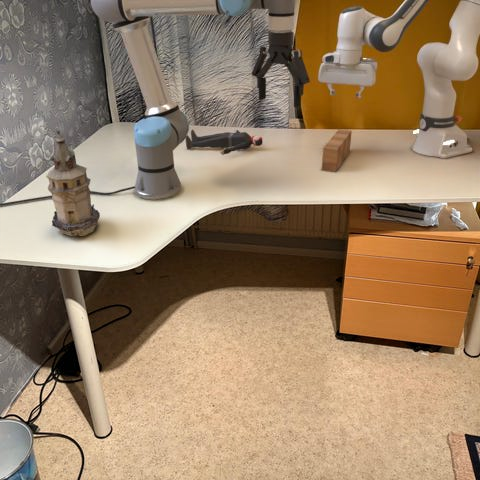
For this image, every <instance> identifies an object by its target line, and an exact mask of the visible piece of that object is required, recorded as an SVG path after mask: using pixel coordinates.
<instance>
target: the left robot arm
mask: <svg viewBox="0 0 480 480" xmlns="http://www.w3.org/2000/svg"><path fill="white" fill-rule="evenodd" d="M295 3H296V0H90V6H91V8H92V11H93V12H94V14H95V15H96V16H97V18H99V19H100V20H102V21H104V22H107V23H111V24H112V26H113V30H114V31H115V32H117V33H119V34H120V35H121V38H122V42H123V44H124V47H125V50H126V52H127V56H128V59H129V61H130V64H131V66H132V69H133V72H134V75H135V78H136V81H137V83H138V86H139V88H140V93H141V94H142V97H143V100H144V103H145V106H146V109H145V112H144V117H145V118H142V119H139V120H138V121H137V123H135V125H134V127H133V139H134V144H135V154H136V161H137V175H136V179H135V184H134V186H130V187H126V188H122V189H121V188H120V189H118V190H115V191H111V192H101V191H95V190H94V191H93V190H90V191H91V192H90V194H94V195H102V196H110V195H115V194H119V193H122V192H126V191H130V190H134V193H135V195H136V196H137V197H138V198H141V199H143V200H148V201H161V200H168V199H171V198H174V197H176V196H178V195H179V194H180V193H181V192H182V182H181V180H180V177H179V176H178V173H177V171H176V169H175V161H174V160H175V159H174V158H175V157H174V151H175V149H177V147H179V145H181V144H182V143H184V141H185V140H186V136H187V135H188V134H189V131H190V121H189V118H188V117H187V115H186V114H185V113H184V112H183V111H181V109H180V106H179V104H178V102H176V101H175V100H173V99H172V96H171V93H170V91H169V88H168V84H167V82H166V78H165V75H164V73H163V70H162V67H161V64H160V61H159V58H158V55H157V51H156V49H155V45H154V43H153V40H152V37H151V34H150V31H149V28H148V24H149V21H150V19H151V18H150V17H170V16H172V17H173V16H209V15H210V16H212V15H216V16H217V15H222V16H223V15H228V16H230V17H240V16H242V15H244V14H245V13H246V12H248V11H250V10H268V17H267V18H268V20H267V23H268V24H267V29H268V33H267V44H268V45H267V44H266V45H261V46H260V47H259V54H258V57H257V59H256V61H255V64H254V66H253V69H252V72H251V76H253V77H255V78H256V87H257V89H258V101H262V100H265V99H266V97H267V77H266V74H267V73H268V72H269V70H270V69H271V68H272V66H274V64H278V65H284V66H285V67H286V68H287V70H288V72H289V73H290V75H291V77H292V78H293V81H294V82H295V83H296V84H295V85H294V87H293V88H294V90H293V108H297V107H300V106H302V96H303V95H304V86H305V85H306V84H309V83H310V82H311V80H310V76H309V73H308V71H307V67H306V65H305V62H304V59H303V50H301V49H296V50H293V46H294V37H295V35H294V34H295V33H294V31H293V30H294V29H295V5H296V4H295ZM268 55H269V56H268ZM267 56H268V58H267ZM266 58H267V59H266ZM45 199H46V200H47V199H52V194H51V195H46V196H39V197H38V196H37V197H33V198H25V199H19V200H14V201H9V202H1V203H0V207H3V206H8V205H15V204H20V203H21V204H22V203H27V202H33V201H39V200H40V201H41V200H45Z"/></svg>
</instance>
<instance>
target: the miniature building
mask: <svg viewBox="0 0 480 480" xmlns="http://www.w3.org/2000/svg"><path fill="white" fill-rule="evenodd" d="M56 134H57V136H56V138H55V140H54V141H55V142H56V147H55V154H54V156H52V157H51V161H52V162H53V165H54V167H53V168H51V169H50V170H49V171H48V173H47V174H46V178H47V179H48V182H49V184H48V186H47V190H48V191H49V193H50V194H51V195H52V198H51V200H52V201H53V205H54V209H55V211H53V217H52V220H51V223H52V225H51V227H54V228H56V229H58V230H59V231H60V234H63V235H64V234H65V235H66V236H69V237H77V236H80V237H83V236H87V235H88V234H90V233H93V232H94V231H95V229H96V226H97V225H98V223H99V220H100V216H101V213H100V212H99V210H98V209H96V208H95V204H92V201H91V200H92V199H91V198H92V197H91V193H90V192H91V191H92V190H91V188H90V184H91V178H89V177H88V174H87V167H85V166H84V165H83V166H82V165H80V164H77V160H76V154H75V151H74V150H70V149H69V147H68V145H67V143H66V138H65V137H64V136H63V135H61V130H60V129H56Z"/></svg>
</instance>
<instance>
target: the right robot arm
mask: <svg viewBox="0 0 480 480" xmlns="http://www.w3.org/2000/svg"><path fill="white" fill-rule="evenodd" d="M429 2H430V0H404V1H403V2H402V4H400V6H399V7H398V8H397V10H396V11H394V13H393V14H392V15H391V16H389V17H387V18H384V17H381V16H378V15H376V14H373V13H372V12H369V11H367V9H365V8H364V7H363V6H361V5H355V6H349V7H346V8H344V9H343V10H341V12H340V14H339V18H338V23H337V33H336V35H337V44H336V48H335V50H334V51H331V52H328V53H325V54H324V55H323V56H322V60H321V61H322V63H320V66H319V70H318V75H317V76H318V77H317V80H318V81H319V83H323V84H327V87H328V90H329V96H331V97H332V96H333V97H335V95H336V89H334V88H333V84H334V85H335V84H336V85H350V86H359V89H360V90H359V91H357V92H356V93H355V98H356V99H360V98H361V97H362V92H363V91H364V89H365V88H366V87H372V86H374V85H375V84H376V80H377V70H378V64H379V63H378V61H377V60H375V58H368V57H362V54H363V52H362V51H363V46H365V45H366V46H369V47H370V48H373V49H374V50H376V51H377V52H379V53H388V52H391V51H394V49H395V48H396V47H398V45H399V44H400V42H401V40H402V39H403V36H404V34H405V32H406V30H408V28H409V27H410V25H411V24H412V23H413V22H414V20H415V19H416V18H417V16H418V15H420V13H421V12H422V11H423V9H424V8H425V7H426V5H427V4H428V3H429ZM448 25H449V29H450V31H451V35H450V39H449V42H448V43H445V42H439V41H438V42H437V41H436V42H428V43H426V44H424V45H422V46H421V47H420V49H419V51H418V53H417V57H416V62H417V65H418V67H419V69H420V71H421V74H422V78H423V79H422V80H423V86H424V96H423V105H422V112H421V113H420V117H419V121H418V125H419V128H418V129H416V130H413V134H417V135H416V139H415V140H414V143H413V146H412V147H411V149H412V151H413V152H415V153H417V154H419V155H423V156H428V157H437V158H441V159H448V158H452V157H457V156H460V155H461V156H462V155H464V154H468V153H472V152H473V148H472V147H471V145H469V144H468V141H469V140H470V138H468V135H467V134H466V132H465V131H463V130H462V128H460V127H459V126H458V125H457V124H456V122H457V123H461V121H462V120H463V117H462V116H459V115H455V114H454V113H455V106H456V100H457V92H456V90H455V88H454V86H453V82H455V81H456V82H464V81H468V80H470V79H471V78H472V77H473V76H474V75H475V74H476V73H477V71H478V68H479V58H478V55H477V45H478V40H479V37H480V0H460V1H459V2H458V5H457V6H456V9H455V10H454V12H453V14H452V16H451V18H450V20H449V24H448ZM452 81H453V82H452Z"/></svg>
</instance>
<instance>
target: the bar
mask: <svg viewBox="0 0 480 480" xmlns="http://www.w3.org/2000/svg"><path fill="white" fill-rule="evenodd" d="M352 133H353V132H352V130H350V129H340V128H338V129H337V130H336V132H335V133H334V134H333V136H331V137H330V139H329V140H328V141H327V143H326V144H325V145H324V146H323V148H322V160H321V161H322V162H321V171H325V172H331V173H332V172H333V173H336V172H337V171H338V169H339V168H340V167H341V165H342V163H343V162H344V161H345V160H346V158H347V157H348V155H349V154H350V152H351V143H352Z"/></svg>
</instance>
